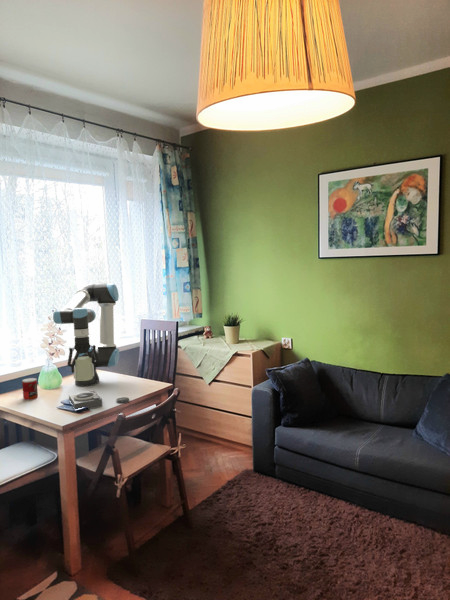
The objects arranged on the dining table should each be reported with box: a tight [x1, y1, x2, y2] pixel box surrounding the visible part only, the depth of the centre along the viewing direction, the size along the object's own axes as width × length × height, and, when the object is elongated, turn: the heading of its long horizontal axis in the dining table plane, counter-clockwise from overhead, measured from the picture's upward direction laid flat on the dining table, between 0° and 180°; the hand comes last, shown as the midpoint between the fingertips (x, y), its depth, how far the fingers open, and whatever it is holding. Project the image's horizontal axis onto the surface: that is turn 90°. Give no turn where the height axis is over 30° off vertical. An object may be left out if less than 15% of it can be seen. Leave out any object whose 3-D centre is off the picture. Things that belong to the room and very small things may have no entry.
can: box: [74, 356, 93, 381], centre depth 235 cm, size 9×9×12 cm
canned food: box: [21, 377, 39, 401], centre depth 250 cm, size 8×8×11 cm
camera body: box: [68, 389, 103, 410], centre depth 236 cm, size 18×14×5 cm
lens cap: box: [116, 396, 130, 404], centre depth 240 cm, size 7×7×2 cm
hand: (84, 376), depth 235 cm, fingers closed on can, 9 cm apart
